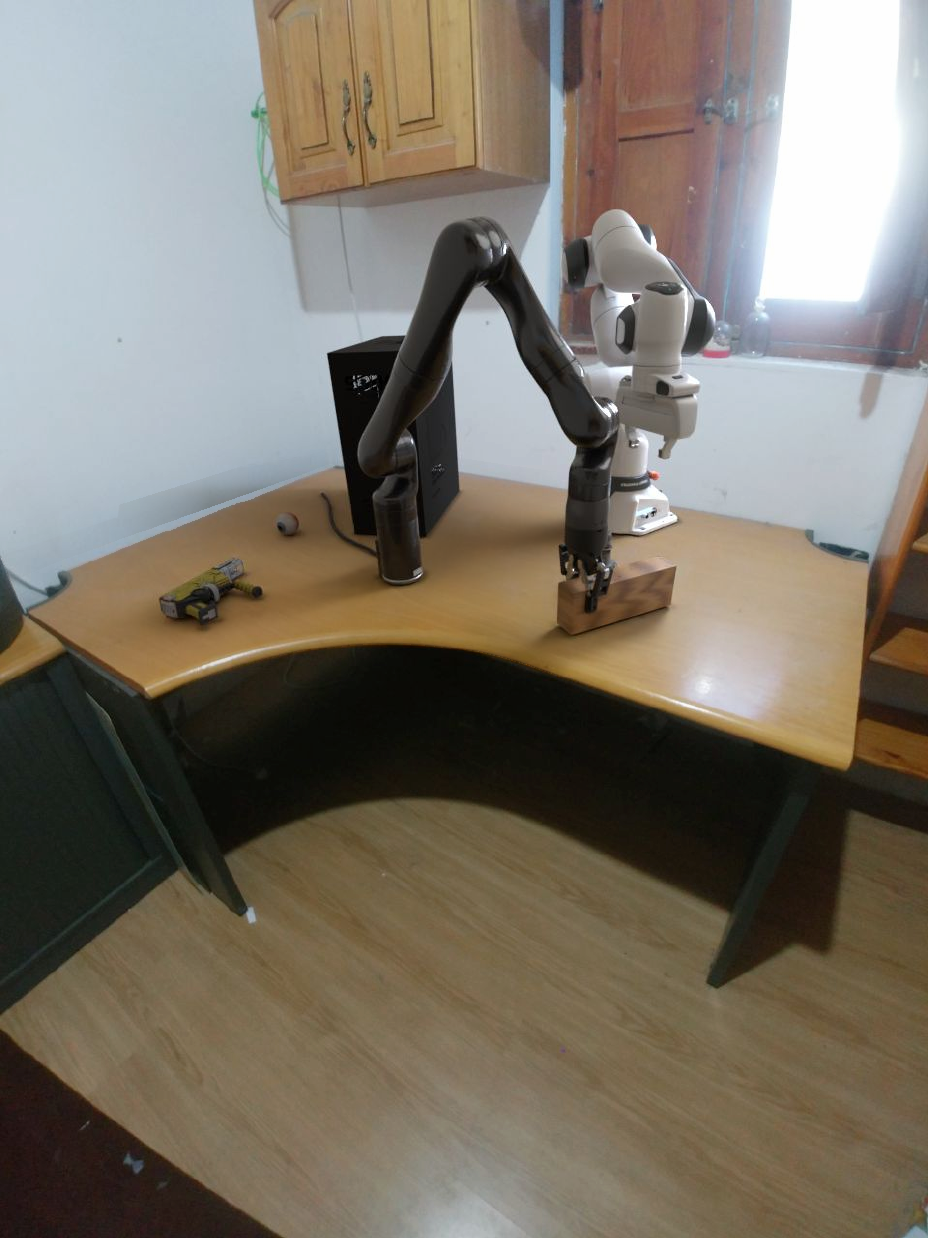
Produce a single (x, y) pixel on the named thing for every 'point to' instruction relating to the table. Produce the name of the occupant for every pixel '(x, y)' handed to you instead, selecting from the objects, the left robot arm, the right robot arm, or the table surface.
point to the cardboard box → (427, 430)
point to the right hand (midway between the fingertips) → (647, 452)
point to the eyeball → (287, 523)
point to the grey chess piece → (608, 553)
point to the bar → (617, 595)
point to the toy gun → (205, 592)
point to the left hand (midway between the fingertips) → (581, 605)
